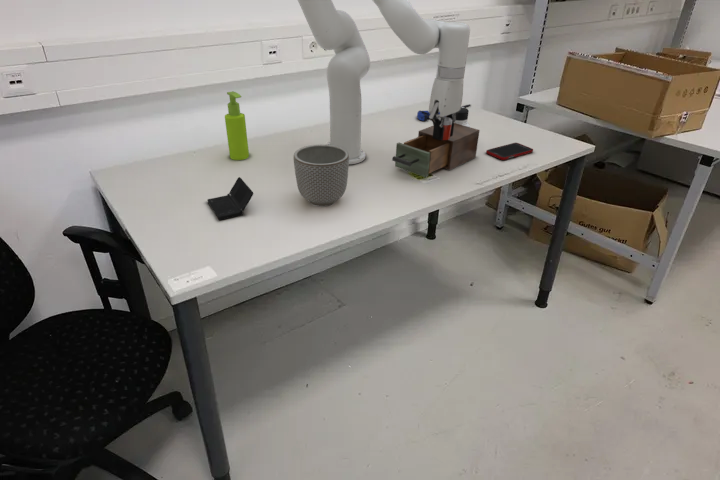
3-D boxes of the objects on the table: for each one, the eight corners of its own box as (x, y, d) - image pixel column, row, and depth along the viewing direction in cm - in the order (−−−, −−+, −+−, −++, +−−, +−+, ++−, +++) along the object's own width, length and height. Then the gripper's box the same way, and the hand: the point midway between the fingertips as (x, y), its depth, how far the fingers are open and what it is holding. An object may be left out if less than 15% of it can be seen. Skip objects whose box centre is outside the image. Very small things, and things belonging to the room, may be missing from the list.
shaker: (439, 140, 140) (442, 122, 137) (432, 136, 143) (434, 117, 140) (452, 139, 141) (455, 120, 138) (445, 134, 144) (447, 116, 142)
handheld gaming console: (199, 199, 124) (219, 166, 123) (221, 207, 130) (241, 175, 129) (219, 222, 118) (241, 188, 116) (241, 229, 123) (262, 197, 122)
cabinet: (449, 170, 147) (453, 141, 142) (416, 158, 154) (418, 130, 150) (475, 157, 156) (479, 129, 152) (443, 147, 164) (446, 120, 159)
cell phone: (533, 152, 161) (534, 149, 160) (502, 161, 154) (503, 158, 153) (515, 144, 166) (516, 142, 166) (484, 153, 159) (485, 150, 159)
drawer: (415, 182, 137) (417, 158, 133) (384, 171, 144) (385, 147, 140) (452, 164, 148) (455, 141, 145) (422, 154, 155) (424, 132, 151)
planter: (326, 184, 137) (326, 140, 130) (359, 202, 128) (360, 155, 121) (285, 198, 129) (282, 152, 122) (317, 218, 120) (315, 169, 114)
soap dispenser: (237, 162, 149) (228, 96, 139) (226, 155, 154) (218, 91, 143) (254, 158, 152) (247, 93, 142) (243, 151, 157) (236, 88, 146)
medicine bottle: (467, 146, 164) (472, 111, 158) (446, 146, 164) (450, 111, 158) (464, 139, 170) (468, 105, 164) (443, 139, 170) (447, 104, 164)
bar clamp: (434, 118, 182) (413, 112, 188) (433, 124, 183) (412, 118, 189) (482, 105, 202) (462, 99, 208) (481, 110, 203) (461, 105, 209)
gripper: (456, 65, 140) (448, 127, 149) (420, 74, 129) (414, 140, 139) (478, 70, 135) (469, 133, 145) (443, 80, 125) (436, 148, 135)
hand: (442, 136), depth 142 cm, fingers closed on shaker, 4 cm apart
